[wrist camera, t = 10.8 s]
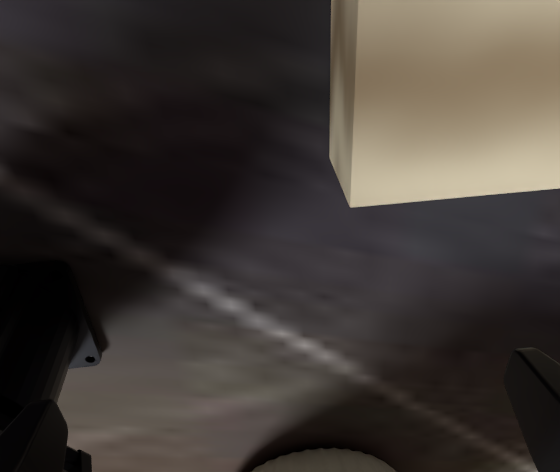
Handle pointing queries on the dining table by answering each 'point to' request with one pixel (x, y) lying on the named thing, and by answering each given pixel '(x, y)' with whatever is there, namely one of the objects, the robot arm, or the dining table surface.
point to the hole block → (444, 98)
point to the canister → (325, 462)
